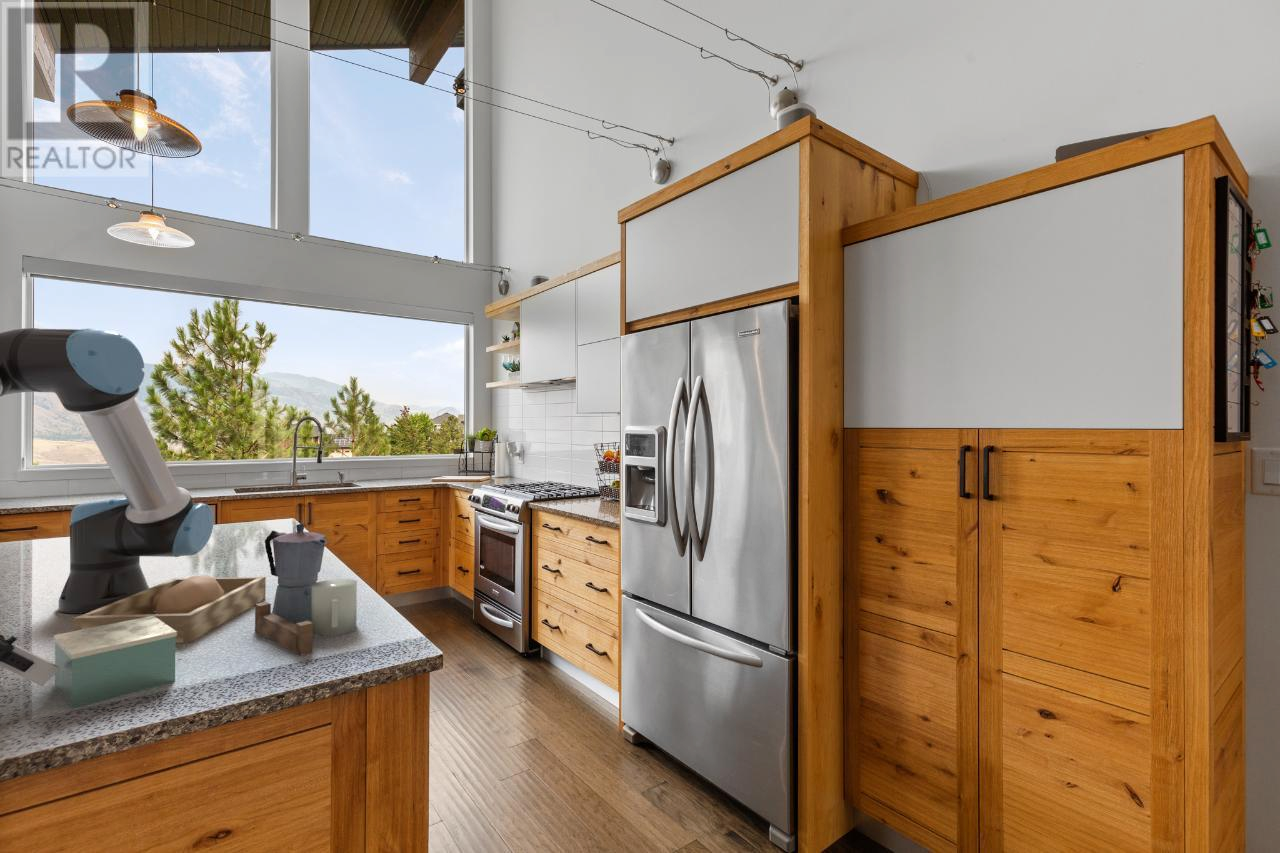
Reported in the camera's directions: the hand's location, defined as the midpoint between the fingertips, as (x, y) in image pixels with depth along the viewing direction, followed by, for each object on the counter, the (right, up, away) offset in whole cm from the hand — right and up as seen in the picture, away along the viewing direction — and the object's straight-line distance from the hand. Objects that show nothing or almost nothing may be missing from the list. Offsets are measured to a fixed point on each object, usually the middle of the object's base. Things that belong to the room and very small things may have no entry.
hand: (50, 676), depth 89 cm
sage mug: (+26, -4, +31) cm, 40 cm away
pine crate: (-8, -3, +36) cm, 38 cm away
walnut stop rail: (+19, -4, +25) cm, 32 cm away
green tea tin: (+5, -4, +6) cm, 8 cm away
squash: (-8, -3, +37) cm, 38 cm away
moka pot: (+15, -4, +36) cm, 39 cm away
